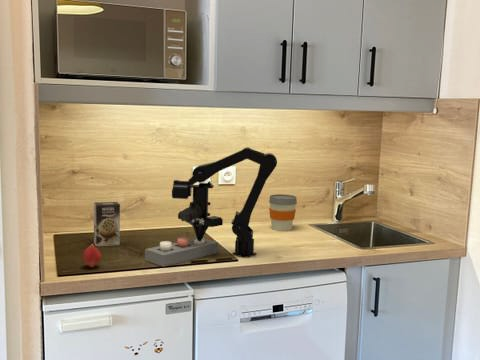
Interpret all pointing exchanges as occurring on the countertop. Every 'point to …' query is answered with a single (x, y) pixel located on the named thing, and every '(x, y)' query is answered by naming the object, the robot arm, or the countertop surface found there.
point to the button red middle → (182, 242)
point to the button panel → (181, 252)
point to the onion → (91, 256)
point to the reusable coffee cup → (282, 211)
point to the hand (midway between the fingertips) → (199, 240)
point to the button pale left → (165, 246)
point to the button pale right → (199, 241)
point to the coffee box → (106, 223)
